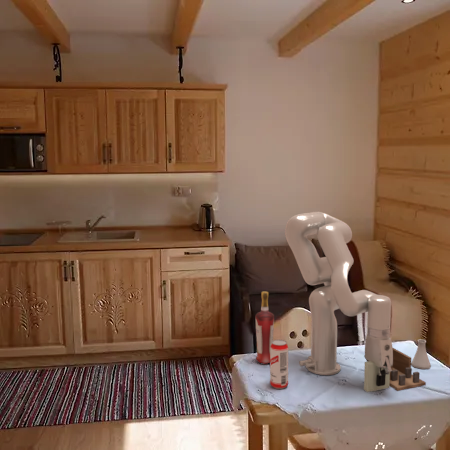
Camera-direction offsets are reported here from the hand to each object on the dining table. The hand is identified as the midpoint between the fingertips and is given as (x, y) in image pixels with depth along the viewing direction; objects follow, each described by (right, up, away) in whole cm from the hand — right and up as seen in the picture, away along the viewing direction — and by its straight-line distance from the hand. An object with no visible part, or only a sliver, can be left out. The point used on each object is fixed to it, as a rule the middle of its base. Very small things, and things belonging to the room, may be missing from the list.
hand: (376, 382), depth 176 cm
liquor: (-37, 0, +24) cm, 44 cm away
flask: (+22, 0, +19) cm, 29 cm away
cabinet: (+9, -1, +9) cm, 13 cm away
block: (0, -2, 0) cm, 2 cm away
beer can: (-33, -2, +3) cm, 34 cm away
